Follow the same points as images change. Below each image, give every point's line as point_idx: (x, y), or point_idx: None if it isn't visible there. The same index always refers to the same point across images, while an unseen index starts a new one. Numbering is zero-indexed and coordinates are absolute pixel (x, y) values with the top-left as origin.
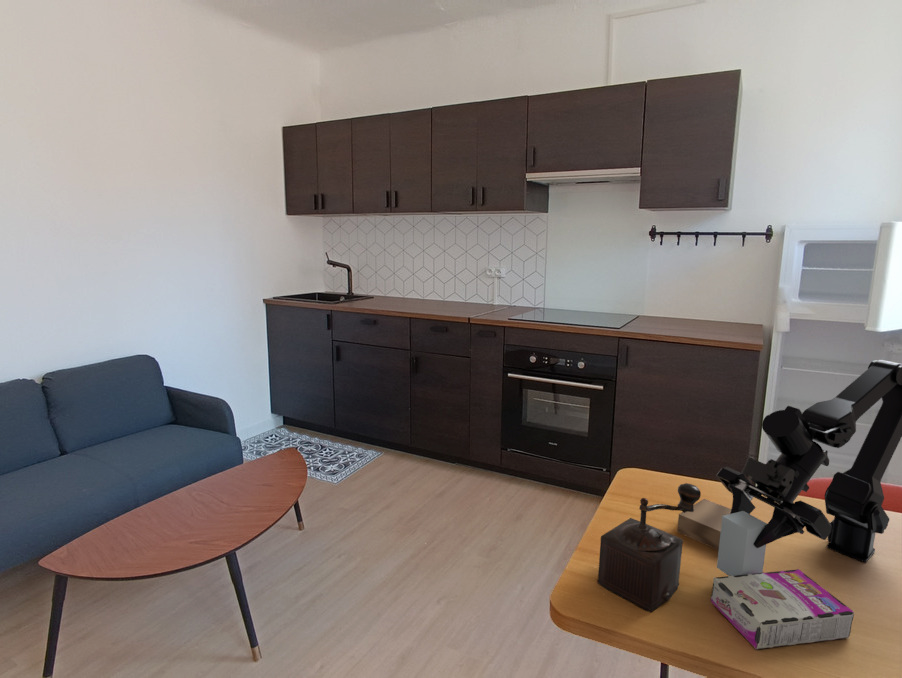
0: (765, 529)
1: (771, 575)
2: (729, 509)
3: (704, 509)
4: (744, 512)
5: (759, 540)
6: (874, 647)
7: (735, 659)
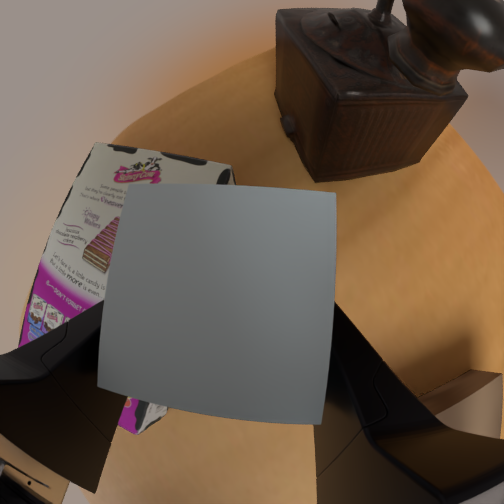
0: (91, 324)
1: None
2: None
3: None
4: (297, 410)
5: None
6: None
7: (135, 133)
